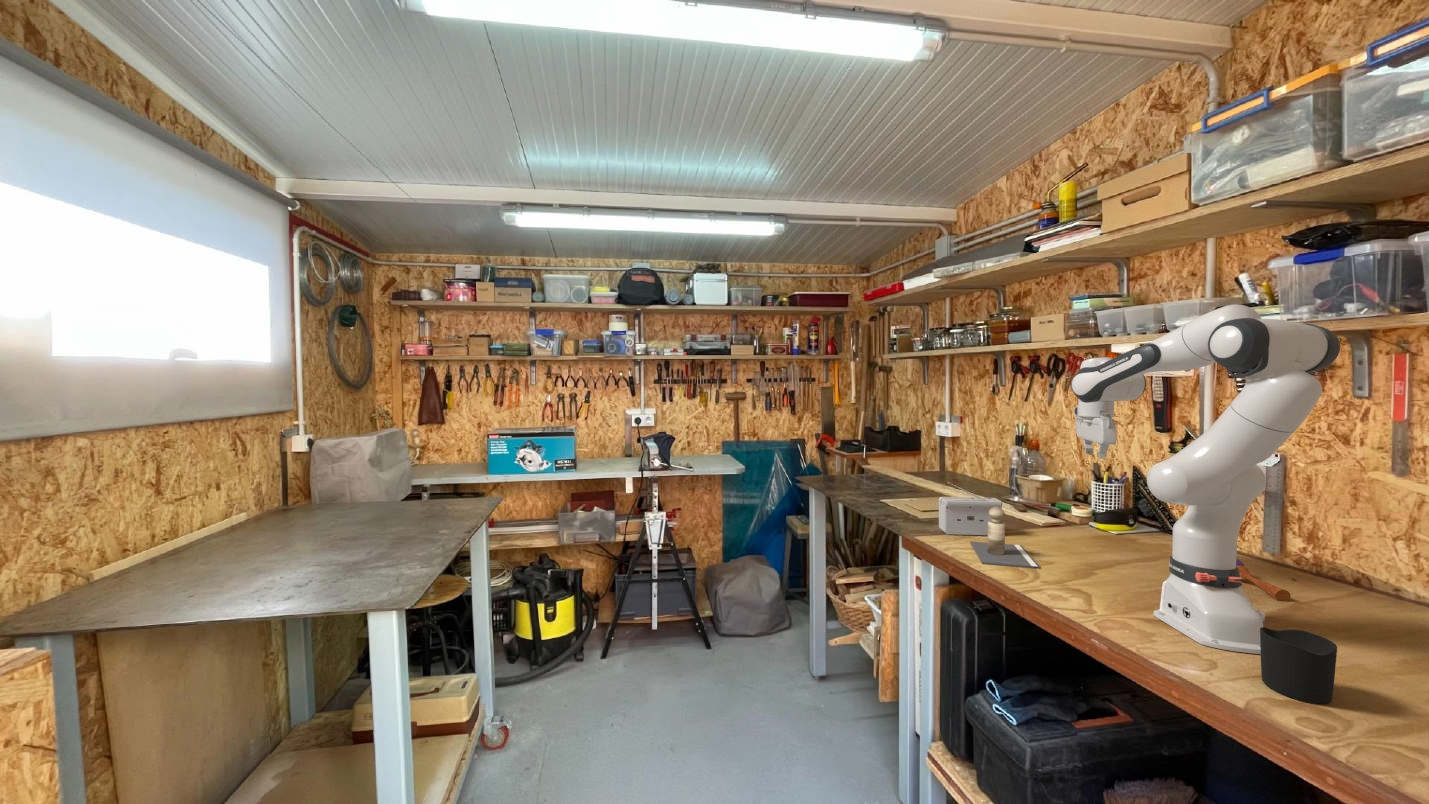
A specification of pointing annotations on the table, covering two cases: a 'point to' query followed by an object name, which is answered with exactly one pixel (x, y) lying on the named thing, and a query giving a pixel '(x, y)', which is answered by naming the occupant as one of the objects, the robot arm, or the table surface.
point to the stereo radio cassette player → (965, 514)
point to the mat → (1005, 556)
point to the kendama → (1263, 584)
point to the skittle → (996, 532)
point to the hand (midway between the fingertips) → (1095, 456)
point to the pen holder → (1298, 664)
